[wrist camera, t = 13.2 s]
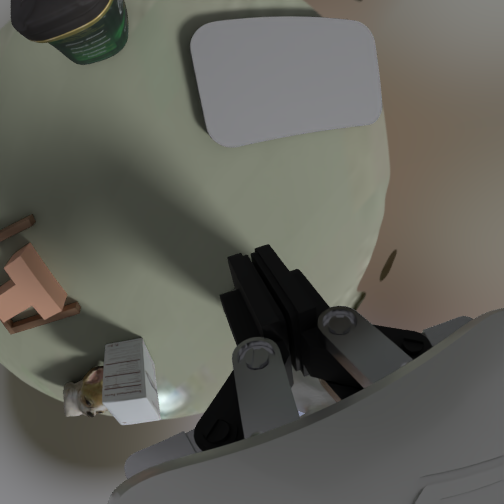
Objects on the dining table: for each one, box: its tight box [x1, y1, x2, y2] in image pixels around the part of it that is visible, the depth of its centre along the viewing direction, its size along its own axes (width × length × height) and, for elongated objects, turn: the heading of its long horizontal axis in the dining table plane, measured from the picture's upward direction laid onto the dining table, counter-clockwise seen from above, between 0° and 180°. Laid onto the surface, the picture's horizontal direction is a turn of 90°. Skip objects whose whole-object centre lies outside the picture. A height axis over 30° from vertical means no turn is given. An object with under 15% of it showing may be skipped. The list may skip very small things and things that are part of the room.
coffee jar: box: [11, 0, 128, 65], centre depth 15 cm, size 10×8×19 cm
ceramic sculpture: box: [63, 366, 108, 417], centre depth 44 cm, size 11×9×15 cm
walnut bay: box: [0, 214, 81, 334], centre depth 33 cm, size 16×16×2 cm
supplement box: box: [102, 338, 161, 425], centre depth 41 cm, size 7×7×13 cm
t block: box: [0, 243, 67, 323], centre depth 32 cm, size 10×12×4 cm
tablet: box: [190, 16, 382, 147], centre depth 32 cm, size 16×26×2 cm, turn 99°
